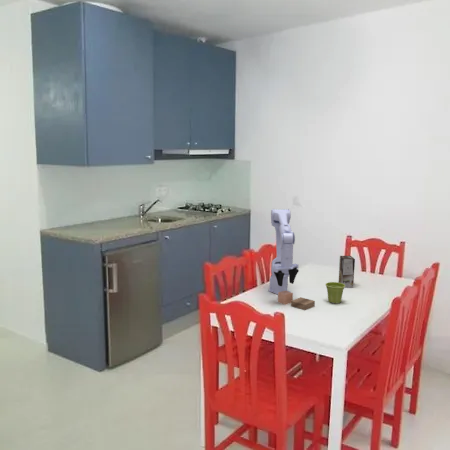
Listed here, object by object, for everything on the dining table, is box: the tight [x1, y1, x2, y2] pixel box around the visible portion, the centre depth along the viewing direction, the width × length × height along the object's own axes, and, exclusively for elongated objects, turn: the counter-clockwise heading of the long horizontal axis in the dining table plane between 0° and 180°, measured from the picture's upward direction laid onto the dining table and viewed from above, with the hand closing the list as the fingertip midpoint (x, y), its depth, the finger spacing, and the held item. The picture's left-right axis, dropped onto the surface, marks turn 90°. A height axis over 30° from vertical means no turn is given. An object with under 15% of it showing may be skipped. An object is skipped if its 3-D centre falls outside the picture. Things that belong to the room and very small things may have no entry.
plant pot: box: [325, 281, 345, 304], centre depth 226 cm, size 9×9×9 cm
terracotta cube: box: [277, 290, 294, 305], centre depth 224 cm, size 5×5×5 cm
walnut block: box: [290, 297, 316, 311], centre depth 219 cm, size 8×8×3 cm
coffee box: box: [338, 255, 356, 289], centre depth 253 cm, size 9×6×16 cm
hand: (285, 284), depth 223 cm, fingers open, 7 cm apart
